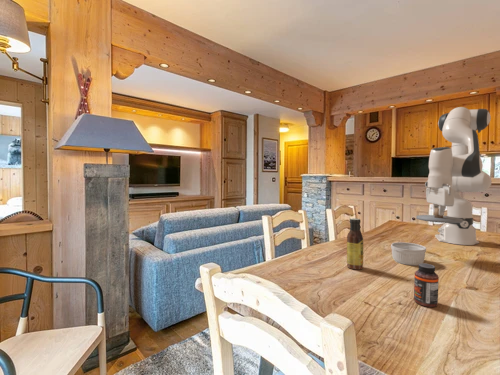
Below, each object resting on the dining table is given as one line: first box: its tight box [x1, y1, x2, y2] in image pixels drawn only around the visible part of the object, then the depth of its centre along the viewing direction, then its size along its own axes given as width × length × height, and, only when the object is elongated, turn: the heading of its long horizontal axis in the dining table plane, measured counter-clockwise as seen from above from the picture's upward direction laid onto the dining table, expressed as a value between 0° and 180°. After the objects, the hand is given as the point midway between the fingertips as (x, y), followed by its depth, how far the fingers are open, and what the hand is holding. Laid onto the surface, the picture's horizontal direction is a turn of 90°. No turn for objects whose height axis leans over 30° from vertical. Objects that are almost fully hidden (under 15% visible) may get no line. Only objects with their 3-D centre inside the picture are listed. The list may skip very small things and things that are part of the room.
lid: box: [415, 208, 463, 224], centre depth 121 cm, size 17×17×5 cm
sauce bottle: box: [346, 218, 364, 270], centre depth 110 cm, size 6×6×20 cm
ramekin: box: [390, 241, 427, 266], centre depth 118 cm, size 13×13×7 cm
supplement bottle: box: [413, 262, 440, 308], centre depth 80 cm, size 6×6×11 cm
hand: (438, 214), depth 121 cm, fingers closed on lid, 3 cm apart
